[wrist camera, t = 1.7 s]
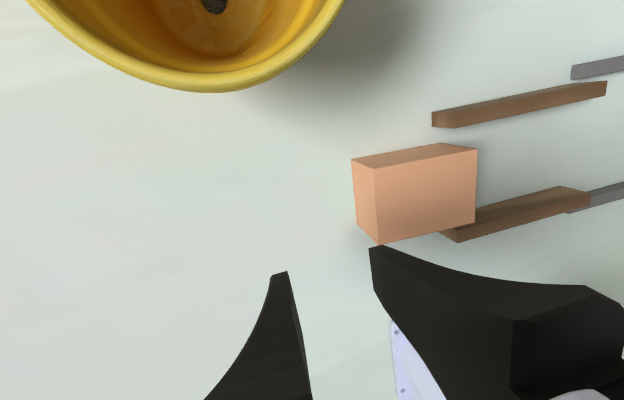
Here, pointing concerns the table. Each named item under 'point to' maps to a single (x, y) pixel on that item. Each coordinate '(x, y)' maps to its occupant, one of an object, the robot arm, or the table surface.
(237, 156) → the table surface
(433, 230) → the terracotta block
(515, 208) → the walled channel
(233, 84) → the plant pot
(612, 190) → the frame
